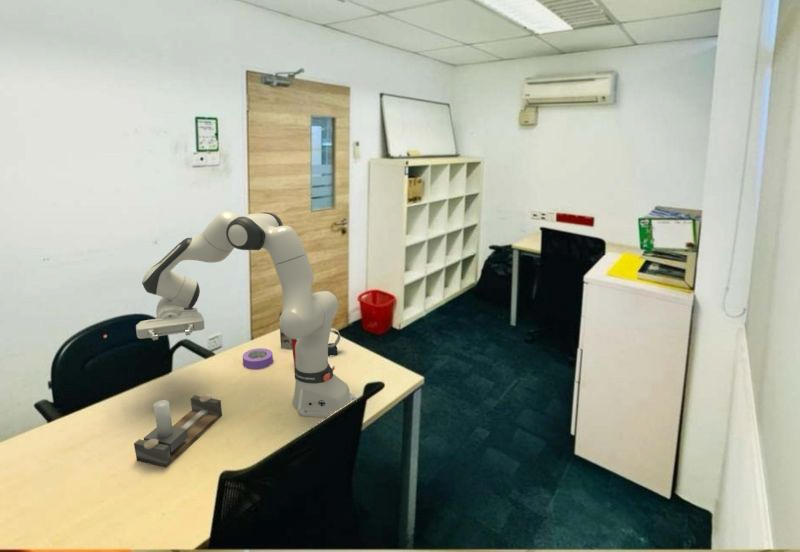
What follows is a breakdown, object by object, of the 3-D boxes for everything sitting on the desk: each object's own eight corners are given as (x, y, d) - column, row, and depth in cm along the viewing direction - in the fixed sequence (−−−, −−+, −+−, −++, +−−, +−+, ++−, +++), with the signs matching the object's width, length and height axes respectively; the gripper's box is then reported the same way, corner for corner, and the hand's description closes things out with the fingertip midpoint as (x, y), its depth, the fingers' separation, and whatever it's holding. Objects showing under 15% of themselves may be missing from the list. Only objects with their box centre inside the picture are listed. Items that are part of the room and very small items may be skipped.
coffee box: (294, 349, 202) (293, 315, 197) (280, 348, 202) (278, 314, 197) (301, 340, 210) (299, 307, 205) (287, 339, 211) (285, 306, 206)
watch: (320, 350, 201) (320, 327, 198) (339, 348, 204) (338, 325, 200) (322, 356, 196) (322, 333, 193) (341, 354, 198) (341, 331, 195)
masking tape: (246, 356, 195) (245, 348, 194) (274, 355, 196) (274, 347, 195) (240, 370, 184) (239, 361, 182) (270, 369, 185) (269, 361, 184)
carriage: (162, 432, 141) (156, 394, 137) (187, 437, 139) (183, 400, 135) (144, 446, 135) (138, 408, 131) (171, 452, 133) (165, 413, 129)
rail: (197, 409, 158) (195, 392, 156) (223, 414, 155) (221, 397, 153) (134, 462, 132) (131, 443, 130) (164, 469, 130) (161, 450, 128)
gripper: (134, 315, 154) (133, 331, 142) (201, 306, 163) (204, 321, 151) (137, 332, 156) (136, 350, 144) (203, 323, 165) (206, 339, 153)
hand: (171, 335), depth 148 cm, fingers open, 8 cm apart
